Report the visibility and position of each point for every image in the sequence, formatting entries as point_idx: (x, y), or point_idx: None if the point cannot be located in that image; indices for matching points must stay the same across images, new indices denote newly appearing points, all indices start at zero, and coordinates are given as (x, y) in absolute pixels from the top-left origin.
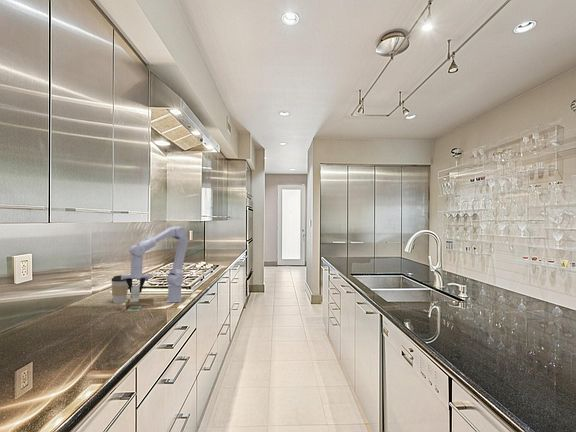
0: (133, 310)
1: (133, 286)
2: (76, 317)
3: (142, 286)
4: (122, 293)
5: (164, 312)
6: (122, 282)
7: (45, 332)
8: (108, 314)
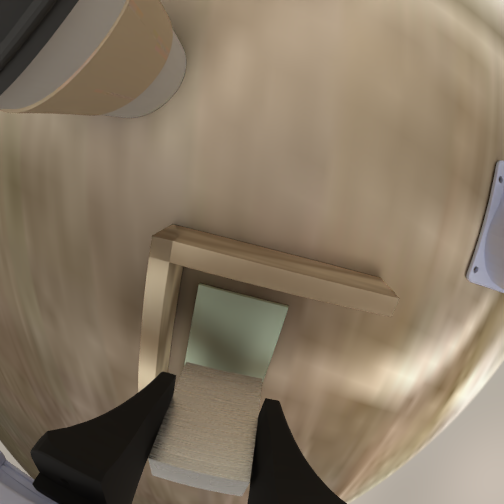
0: None
1: (171, 470)
2: (5, 341)
3: (291, 448)
4: (108, 106)
5: (363, 452)
6: (12, 93)
7: (11, 424)
8: (97, 377)
